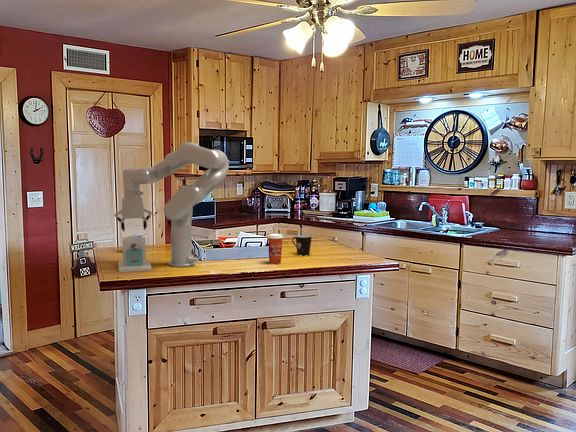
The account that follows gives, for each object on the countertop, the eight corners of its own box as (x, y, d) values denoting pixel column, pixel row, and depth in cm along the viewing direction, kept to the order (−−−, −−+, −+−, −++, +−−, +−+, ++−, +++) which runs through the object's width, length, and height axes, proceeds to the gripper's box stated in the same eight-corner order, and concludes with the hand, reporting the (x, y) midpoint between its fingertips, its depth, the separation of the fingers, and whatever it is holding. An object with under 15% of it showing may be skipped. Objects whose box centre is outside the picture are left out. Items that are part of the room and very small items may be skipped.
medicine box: (134, 253, 277) (134, 237, 276) (127, 253, 278) (126, 236, 277) (141, 250, 285) (141, 235, 284) (134, 250, 285) (134, 234, 284)
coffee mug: (314, 255, 278) (314, 237, 277) (298, 256, 275) (299, 237, 274) (305, 251, 289) (305, 233, 287) (290, 252, 285) (290, 234, 284)
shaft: (138, 253, 239) (138, 244, 238) (131, 254, 238) (130, 244, 237) (136, 246, 257) (135, 237, 256) (129, 246, 256) (129, 237, 255)
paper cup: (269, 264, 254) (269, 236, 252) (265, 261, 261) (265, 233, 260) (284, 264, 256) (285, 235, 254) (280, 260, 263) (281, 233, 262)
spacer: (142, 265, 243) (142, 250, 242) (126, 266, 241) (126, 251, 240) (142, 264, 245) (142, 249, 244) (126, 265, 243) (126, 250, 242)
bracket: (151, 270, 238) (151, 240, 236) (119, 272, 234) (118, 242, 232) (148, 262, 255) (148, 234, 253) (118, 264, 250) (117, 236, 249)
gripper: (150, 193, 258) (152, 228, 260) (113, 195, 252) (115, 230, 254) (151, 194, 251) (153, 229, 253) (113, 196, 245) (115, 232, 247)
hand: (134, 230), depth 253 cm, fingers open, 9 cm apart
